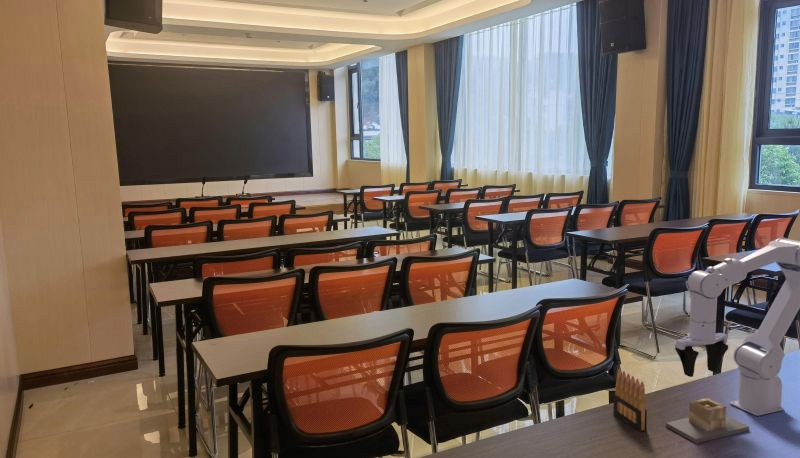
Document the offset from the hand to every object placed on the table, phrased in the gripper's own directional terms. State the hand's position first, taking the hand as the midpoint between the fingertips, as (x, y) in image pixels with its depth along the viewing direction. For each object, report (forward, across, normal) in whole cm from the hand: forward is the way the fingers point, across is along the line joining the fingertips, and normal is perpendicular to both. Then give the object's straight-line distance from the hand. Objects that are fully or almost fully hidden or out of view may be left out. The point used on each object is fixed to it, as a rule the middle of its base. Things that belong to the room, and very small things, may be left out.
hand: (700, 373), depth 148 cm
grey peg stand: (+10, +5, +7) cm, 13 cm away
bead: (+9, +5, +7) cm, 13 cm away
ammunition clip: (+11, +19, -3) cm, 22 cm away
